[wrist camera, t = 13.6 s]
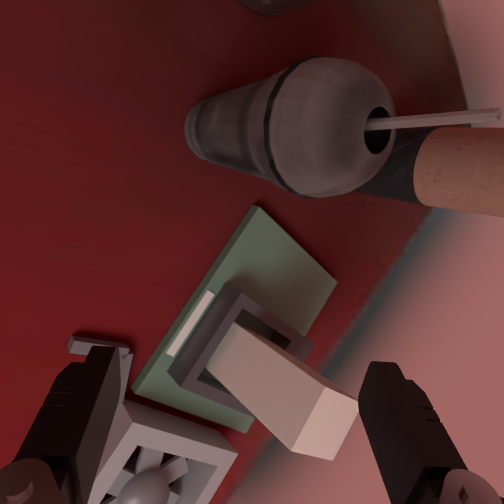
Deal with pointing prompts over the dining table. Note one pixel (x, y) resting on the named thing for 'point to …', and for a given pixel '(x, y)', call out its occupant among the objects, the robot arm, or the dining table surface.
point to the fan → (155, 450)
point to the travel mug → (444, 169)
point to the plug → (283, 393)
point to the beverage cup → (308, 127)
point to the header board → (237, 318)
